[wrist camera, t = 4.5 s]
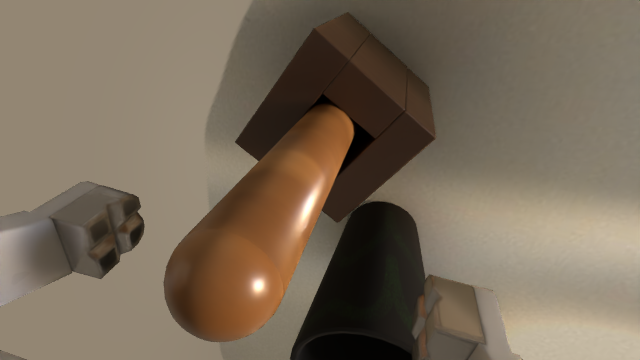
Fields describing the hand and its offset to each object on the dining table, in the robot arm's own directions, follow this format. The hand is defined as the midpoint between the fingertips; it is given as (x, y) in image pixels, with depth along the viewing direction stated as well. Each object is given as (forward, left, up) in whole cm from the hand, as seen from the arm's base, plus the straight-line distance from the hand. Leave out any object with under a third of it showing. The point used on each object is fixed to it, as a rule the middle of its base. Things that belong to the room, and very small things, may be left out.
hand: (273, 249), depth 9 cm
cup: (+9, -7, -15) cm, 19 cm away
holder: (0, 0, -15) cm, 15 cm away
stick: (0, 0, -15) cm, 15 cm away
